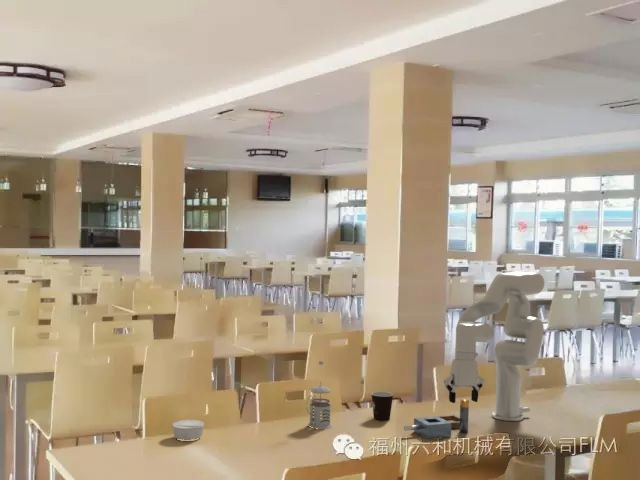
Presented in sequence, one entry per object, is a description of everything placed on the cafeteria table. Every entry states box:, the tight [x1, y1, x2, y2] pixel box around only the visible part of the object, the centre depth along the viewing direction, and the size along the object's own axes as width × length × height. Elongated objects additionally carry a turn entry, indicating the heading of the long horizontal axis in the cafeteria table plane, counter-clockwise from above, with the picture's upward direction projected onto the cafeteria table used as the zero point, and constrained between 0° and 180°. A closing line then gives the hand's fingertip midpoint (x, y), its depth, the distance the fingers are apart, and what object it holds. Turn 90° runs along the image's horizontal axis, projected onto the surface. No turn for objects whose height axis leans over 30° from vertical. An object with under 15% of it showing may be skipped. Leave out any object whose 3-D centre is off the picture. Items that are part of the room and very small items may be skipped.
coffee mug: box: [371, 391, 394, 422], centre depth 285 cm, size 12×9×10 cm
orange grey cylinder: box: [458, 398, 470, 434], centre depth 268 cm, size 3×3×12 cm
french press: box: [306, 360, 333, 430], centre depth 271 cm, size 10×12×25 cm
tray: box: [438, 414, 460, 430], centre depth 277 cm, size 12×10×2 cm
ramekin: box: [171, 419, 205, 440], centre depth 253 cm, size 11×11×5 cm
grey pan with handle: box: [403, 415, 452, 440], centre depth 263 cm, size 16×10×5 cm, turn 111°
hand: (463, 401), depth 267 cm, fingers open, 9 cm apart
